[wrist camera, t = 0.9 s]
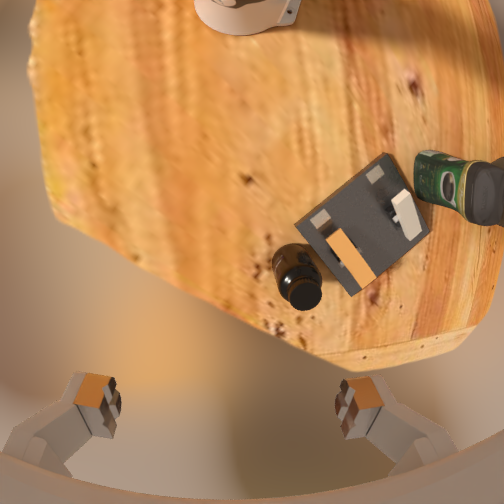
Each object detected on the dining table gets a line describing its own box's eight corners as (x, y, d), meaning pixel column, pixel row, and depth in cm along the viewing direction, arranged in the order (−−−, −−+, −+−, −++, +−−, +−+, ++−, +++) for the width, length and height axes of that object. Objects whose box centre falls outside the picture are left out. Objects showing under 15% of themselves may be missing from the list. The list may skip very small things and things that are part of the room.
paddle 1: (321, 241, 50) (322, 243, 48) (341, 225, 49) (344, 225, 47) (356, 288, 50) (359, 291, 48) (376, 272, 49) (380, 274, 47)
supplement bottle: (265, 250, 52) (276, 284, 41) (304, 237, 52) (324, 267, 41) (277, 283, 55) (289, 322, 44) (313, 271, 55) (333, 307, 44)
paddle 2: (384, 199, 44) (393, 207, 43) (403, 183, 44) (413, 190, 42) (399, 235, 51) (407, 243, 49) (416, 220, 50) (424, 228, 48)
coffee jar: (442, 198, 51) (507, 229, 34) (411, 200, 51) (476, 234, 34) (443, 149, 47) (513, 166, 30) (411, 148, 47) (481, 164, 30)
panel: (294, 224, 51) (298, 230, 48) (383, 152, 47) (392, 154, 44) (348, 293, 57) (354, 302, 54) (425, 229, 53) (435, 235, 50)
